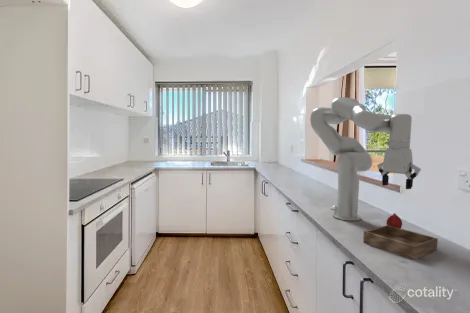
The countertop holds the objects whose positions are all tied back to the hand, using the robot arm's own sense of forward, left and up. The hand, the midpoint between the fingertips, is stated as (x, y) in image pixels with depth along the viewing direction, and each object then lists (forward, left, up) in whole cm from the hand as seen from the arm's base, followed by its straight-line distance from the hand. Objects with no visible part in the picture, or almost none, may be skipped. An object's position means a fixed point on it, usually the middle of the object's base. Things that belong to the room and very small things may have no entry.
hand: (396, 187), depth 125 cm
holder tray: (+10, -14, -19) cm, 26 cm away
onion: (0, +1, -19) cm, 19 cm away
